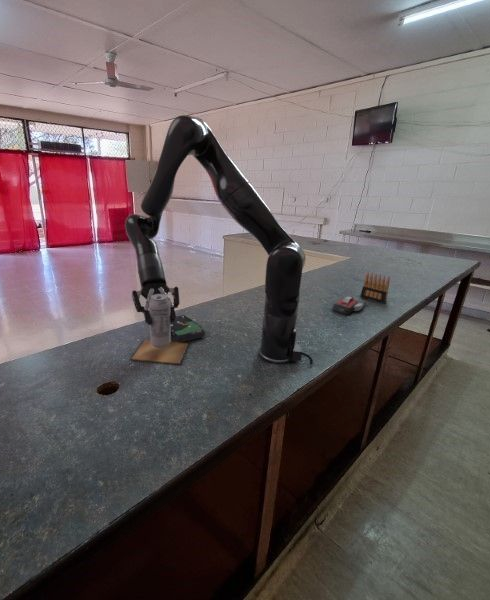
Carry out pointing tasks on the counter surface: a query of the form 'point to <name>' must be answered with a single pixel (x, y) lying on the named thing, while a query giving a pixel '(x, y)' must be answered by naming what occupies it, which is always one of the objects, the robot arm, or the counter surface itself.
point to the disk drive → (185, 329)
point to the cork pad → (161, 352)
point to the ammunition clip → (375, 288)
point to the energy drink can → (160, 320)
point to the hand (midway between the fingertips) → (161, 322)
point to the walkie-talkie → (348, 305)
